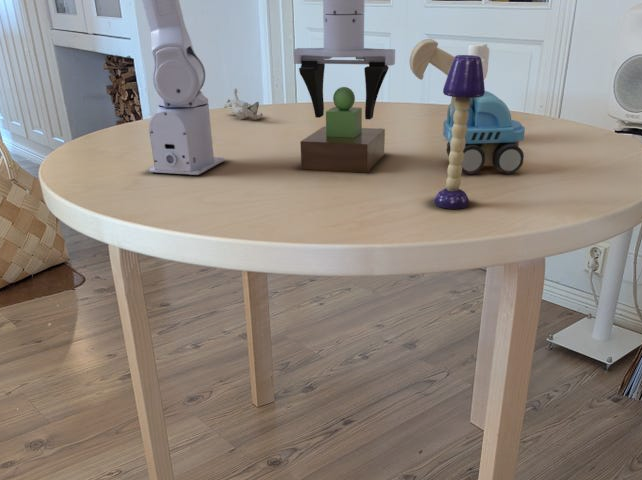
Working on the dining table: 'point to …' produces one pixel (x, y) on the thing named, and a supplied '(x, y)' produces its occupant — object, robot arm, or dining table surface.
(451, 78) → the toy lamp
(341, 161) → the walnut block
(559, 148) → the dining table surface
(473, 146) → the toy excavator
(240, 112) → the toy cat
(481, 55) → the figurine
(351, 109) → the green toy
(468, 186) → the dining table surface
